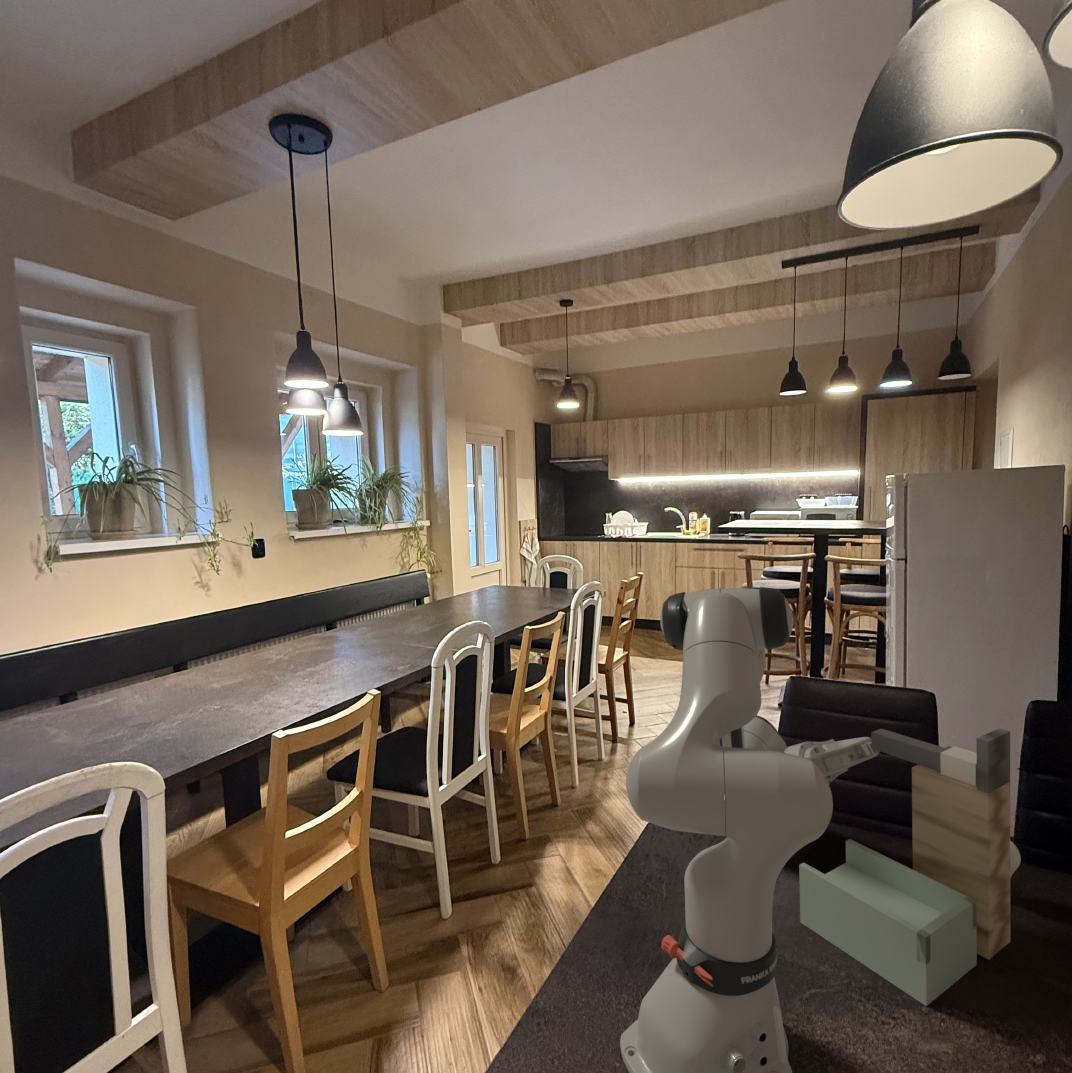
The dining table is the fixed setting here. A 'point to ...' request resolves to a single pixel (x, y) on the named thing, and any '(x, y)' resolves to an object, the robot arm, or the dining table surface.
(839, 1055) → the dining table surface
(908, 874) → the bin
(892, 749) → the grey square bar
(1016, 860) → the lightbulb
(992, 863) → the stand
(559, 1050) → the dining table surface
